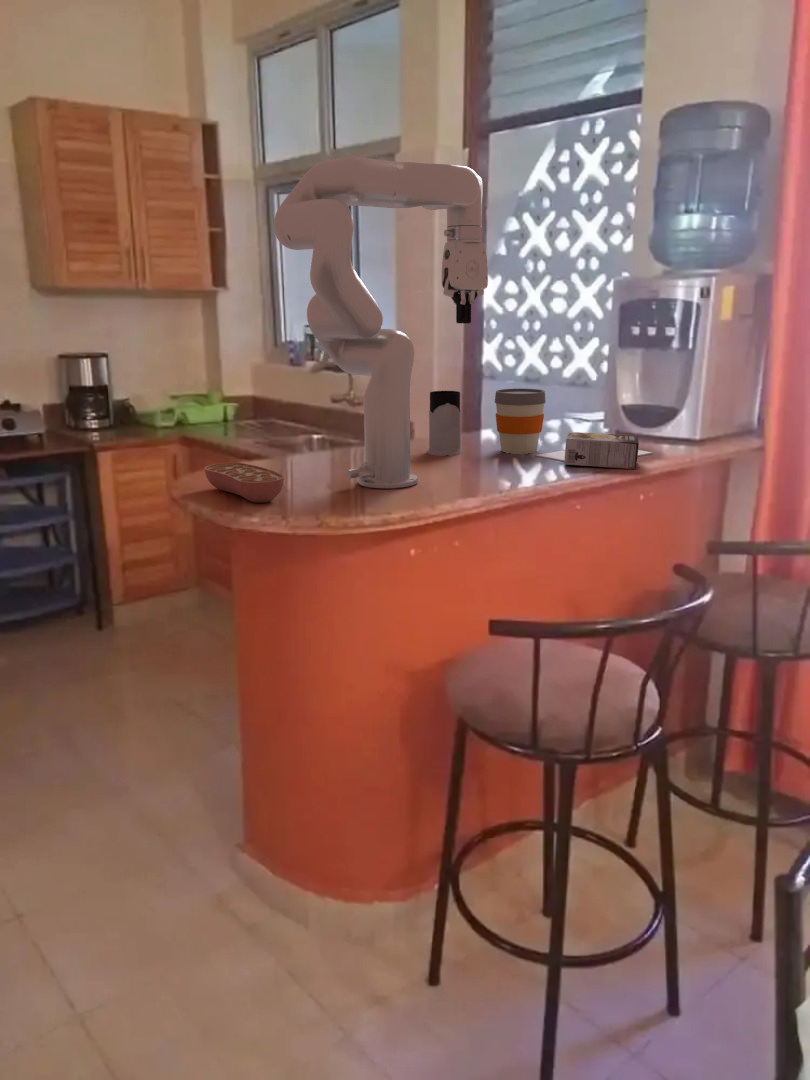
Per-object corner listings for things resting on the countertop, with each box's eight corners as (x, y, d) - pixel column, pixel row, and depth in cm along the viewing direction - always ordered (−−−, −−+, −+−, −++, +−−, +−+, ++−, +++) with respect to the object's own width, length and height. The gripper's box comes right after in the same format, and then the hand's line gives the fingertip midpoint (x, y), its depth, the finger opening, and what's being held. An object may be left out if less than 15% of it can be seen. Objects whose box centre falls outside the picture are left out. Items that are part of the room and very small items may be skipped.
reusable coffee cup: (539, 456, 212) (540, 394, 208) (488, 454, 216) (489, 393, 212) (547, 448, 223) (549, 388, 219) (499, 445, 227) (500, 387, 223)
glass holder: (430, 456, 214) (430, 394, 210) (422, 446, 228) (421, 388, 224) (465, 454, 215) (465, 393, 211) (454, 445, 229) (455, 387, 225)
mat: (586, 465, 200) (586, 464, 200) (536, 456, 212) (536, 455, 212) (652, 453, 214) (652, 452, 214) (601, 445, 226) (601, 444, 226)
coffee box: (568, 430, 205) (638, 434, 202) (566, 457, 207) (635, 461, 203) (565, 438, 196) (639, 442, 193) (563, 465, 198) (636, 470, 195)
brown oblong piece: (199, 490, 181) (197, 466, 179) (242, 483, 186) (240, 460, 185) (251, 510, 163) (249, 484, 162) (297, 502, 169) (295, 477, 168)
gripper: (448, 233, 182) (448, 324, 187) (501, 236, 190) (499, 322, 195) (426, 236, 187) (426, 323, 192) (478, 238, 196) (477, 322, 201)
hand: (463, 323), depth 194 cm, fingers closed
